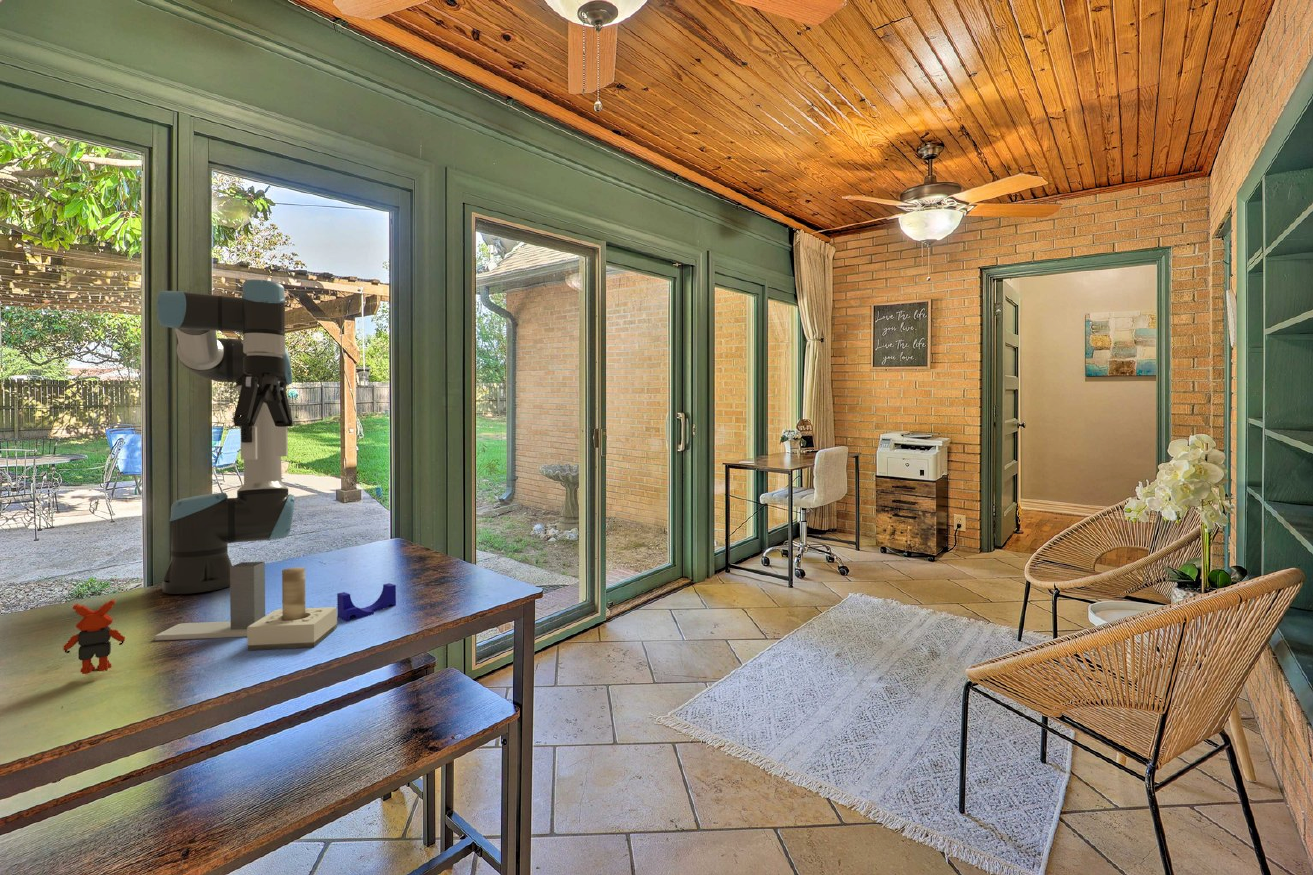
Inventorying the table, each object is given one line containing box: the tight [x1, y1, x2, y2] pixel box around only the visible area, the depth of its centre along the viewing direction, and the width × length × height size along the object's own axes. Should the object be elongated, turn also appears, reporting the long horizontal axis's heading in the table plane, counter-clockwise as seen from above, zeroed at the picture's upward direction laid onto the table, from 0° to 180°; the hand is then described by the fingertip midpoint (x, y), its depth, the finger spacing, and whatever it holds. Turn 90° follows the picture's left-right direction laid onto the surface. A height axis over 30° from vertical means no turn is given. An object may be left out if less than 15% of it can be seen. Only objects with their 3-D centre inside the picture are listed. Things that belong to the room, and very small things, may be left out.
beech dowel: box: [281, 567, 306, 621], centre depth 127 cm, size 4×4×13 cm
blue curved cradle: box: [336, 582, 397, 623], centre depth 143 cm, size 12×4×6 cm, turn 140°
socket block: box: [246, 606, 338, 651], centre depth 127 cm, size 12×12×4 cm
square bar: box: [229, 561, 266, 630], centre depth 132 cm, size 5×5×13 cm
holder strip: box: [154, 620, 247, 641], centre depth 132 cm, size 8×20×1 cm, turn 98°
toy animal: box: [62, 599, 126, 675], centre depth 111 cm, size 8×5×12 cm
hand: (265, 457), depth 131 cm, fingers open, 13 cm apart
